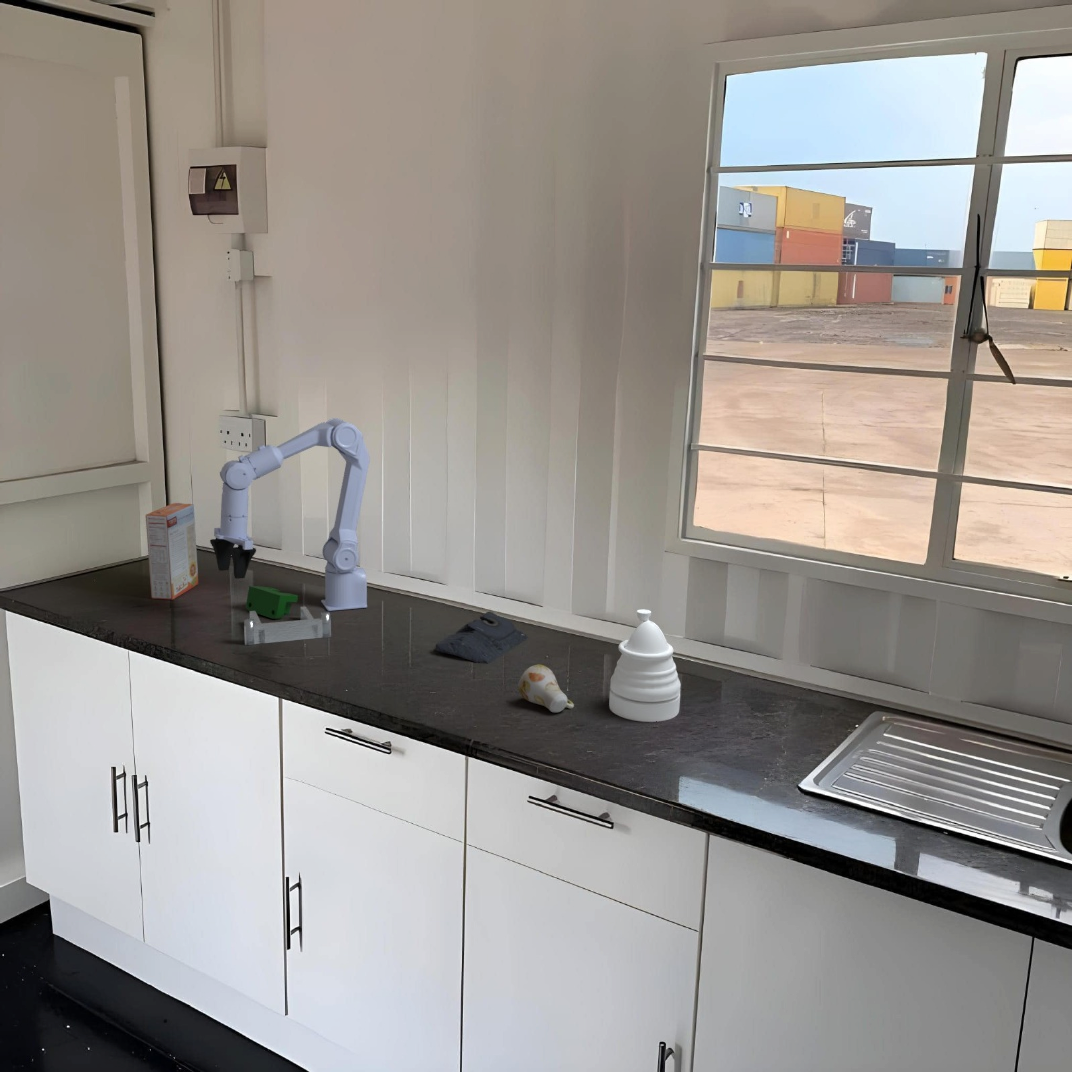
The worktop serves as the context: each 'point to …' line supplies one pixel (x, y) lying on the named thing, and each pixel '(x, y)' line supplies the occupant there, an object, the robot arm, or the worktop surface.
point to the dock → (286, 628)
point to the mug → (543, 689)
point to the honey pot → (645, 676)
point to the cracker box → (172, 550)
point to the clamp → (269, 601)
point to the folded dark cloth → (483, 639)
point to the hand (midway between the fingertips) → (231, 574)
